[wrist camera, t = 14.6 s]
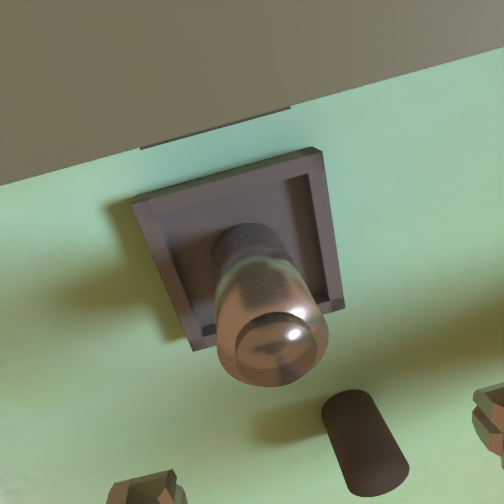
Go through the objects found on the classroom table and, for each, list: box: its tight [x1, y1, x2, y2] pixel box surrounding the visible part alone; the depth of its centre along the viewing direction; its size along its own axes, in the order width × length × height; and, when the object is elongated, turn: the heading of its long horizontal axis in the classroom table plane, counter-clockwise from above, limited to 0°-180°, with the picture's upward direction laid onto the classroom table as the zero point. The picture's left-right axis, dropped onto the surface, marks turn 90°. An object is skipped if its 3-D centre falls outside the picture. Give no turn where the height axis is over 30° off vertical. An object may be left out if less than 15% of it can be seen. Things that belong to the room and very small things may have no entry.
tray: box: [131, 147, 345, 352], centre depth 18 cm, size 9×9×2 cm
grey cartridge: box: [211, 223, 329, 387], centre depth 15 cm, size 4×4×8 cm
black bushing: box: [321, 390, 409, 497], centre depth 24 cm, size 4×4×5 cm
